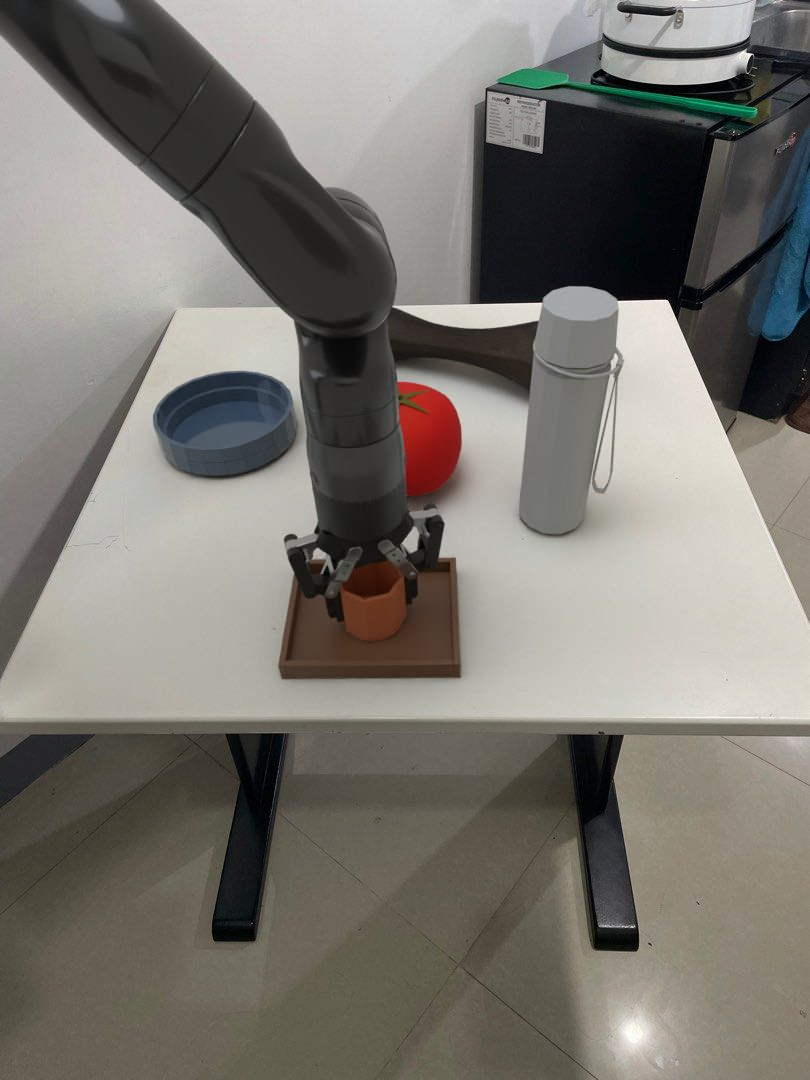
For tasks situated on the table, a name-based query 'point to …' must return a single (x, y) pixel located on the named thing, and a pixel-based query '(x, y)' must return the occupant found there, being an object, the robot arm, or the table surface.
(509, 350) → the dark brown flared cylinder
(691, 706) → the table surface
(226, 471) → the big bowl
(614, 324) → the water bottle
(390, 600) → the small cup
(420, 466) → the tomato
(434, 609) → the tray
